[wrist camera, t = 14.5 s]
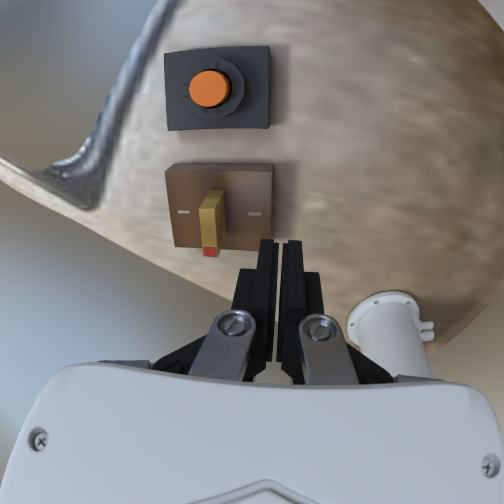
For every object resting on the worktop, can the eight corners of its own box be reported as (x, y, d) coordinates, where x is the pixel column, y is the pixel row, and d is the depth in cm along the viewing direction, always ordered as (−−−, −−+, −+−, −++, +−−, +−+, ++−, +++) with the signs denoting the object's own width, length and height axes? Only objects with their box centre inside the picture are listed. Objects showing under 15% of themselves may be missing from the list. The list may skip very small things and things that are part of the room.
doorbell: (270, 48, 26) (268, 43, 22) (269, 125, 31) (267, 131, 27) (170, 54, 27) (157, 52, 23) (174, 127, 32) (161, 134, 28)
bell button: (229, 70, 25) (226, 69, 23) (230, 104, 26) (227, 106, 25) (193, 72, 25) (188, 72, 23) (194, 106, 27) (189, 107, 25)
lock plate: (273, 164, 33) (272, 172, 30) (271, 239, 38) (270, 252, 36) (173, 163, 34) (163, 171, 31) (181, 235, 39) (174, 247, 37)
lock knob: (210, 189, 32) (197, 209, 28) (224, 190, 32) (214, 209, 28) (213, 233, 35) (202, 257, 31) (226, 233, 35) (217, 258, 31)
